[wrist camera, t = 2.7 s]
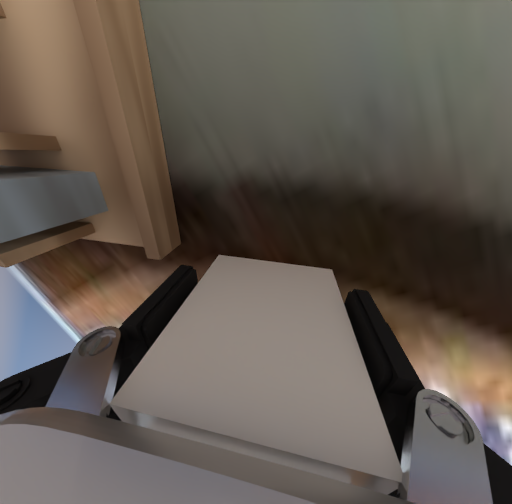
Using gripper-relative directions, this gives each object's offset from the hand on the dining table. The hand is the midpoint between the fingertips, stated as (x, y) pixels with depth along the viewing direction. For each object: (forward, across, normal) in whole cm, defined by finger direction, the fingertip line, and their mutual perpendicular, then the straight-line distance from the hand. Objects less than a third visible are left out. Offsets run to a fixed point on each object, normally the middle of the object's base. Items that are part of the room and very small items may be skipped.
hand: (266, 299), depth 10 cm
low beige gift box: (+2, 0, 0) cm, 2 cm away
